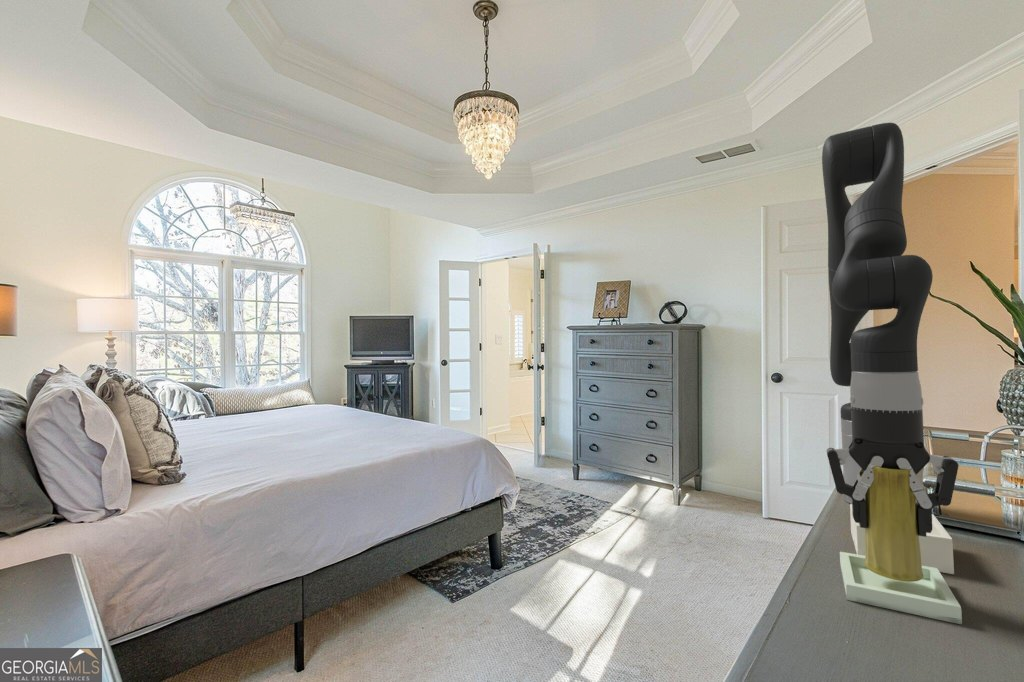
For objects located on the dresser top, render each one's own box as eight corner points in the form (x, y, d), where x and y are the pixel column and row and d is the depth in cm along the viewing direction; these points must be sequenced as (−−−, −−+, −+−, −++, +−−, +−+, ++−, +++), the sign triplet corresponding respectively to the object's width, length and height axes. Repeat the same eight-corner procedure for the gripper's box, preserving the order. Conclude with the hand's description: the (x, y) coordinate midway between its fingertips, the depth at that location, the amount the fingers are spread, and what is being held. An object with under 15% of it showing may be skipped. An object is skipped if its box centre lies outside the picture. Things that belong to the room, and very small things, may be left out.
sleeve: (851, 532, 80) (849, 504, 81) (934, 545, 75) (933, 514, 75) (858, 557, 71) (856, 525, 71) (954, 574, 65) (952, 539, 65)
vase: (935, 584, 58) (930, 471, 58) (880, 580, 59) (875, 470, 59) (904, 561, 64) (900, 459, 64) (855, 559, 65) (851, 458, 65)
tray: (840, 564, 69) (839, 551, 69) (937, 582, 63) (937, 568, 63) (846, 599, 60) (846, 584, 60) (962, 624, 54) (961, 607, 54)
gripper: (949, 403, 61) (955, 530, 61) (820, 399, 69) (825, 512, 69) (966, 410, 55) (973, 552, 55) (822, 406, 63) (827, 530, 62)
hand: (890, 529), depth 62 cm, fingers closed on vase, 5 cm apart
